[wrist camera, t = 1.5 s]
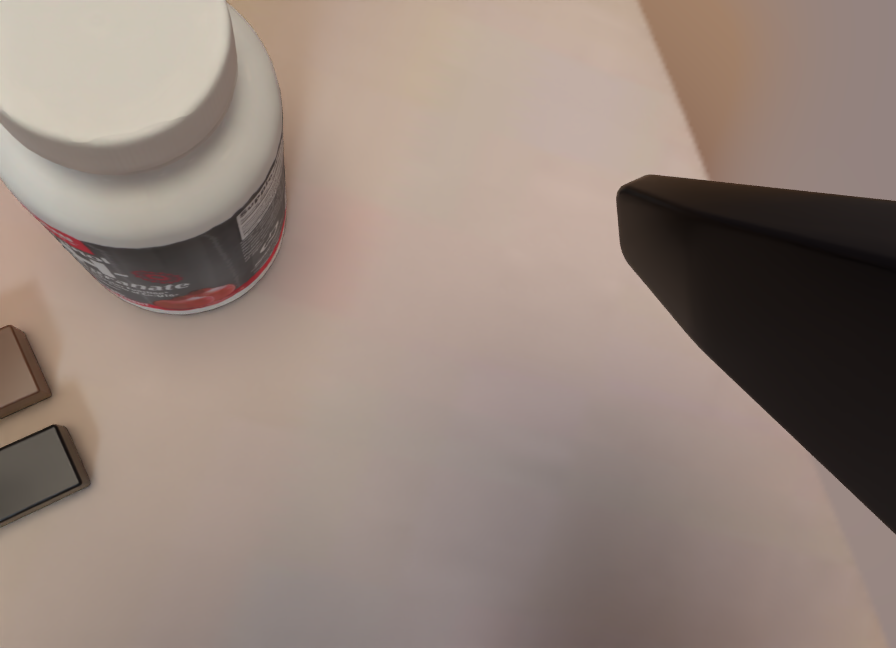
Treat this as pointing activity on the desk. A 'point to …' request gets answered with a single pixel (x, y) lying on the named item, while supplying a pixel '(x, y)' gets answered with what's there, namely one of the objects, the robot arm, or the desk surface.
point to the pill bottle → (146, 143)
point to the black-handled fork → (38, 472)
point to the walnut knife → (19, 373)
